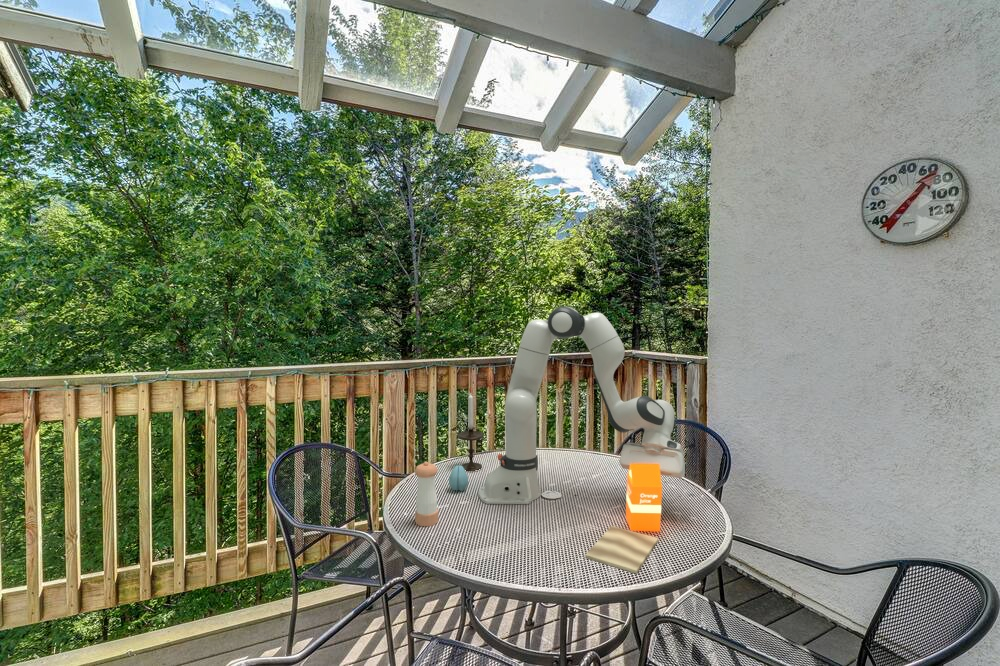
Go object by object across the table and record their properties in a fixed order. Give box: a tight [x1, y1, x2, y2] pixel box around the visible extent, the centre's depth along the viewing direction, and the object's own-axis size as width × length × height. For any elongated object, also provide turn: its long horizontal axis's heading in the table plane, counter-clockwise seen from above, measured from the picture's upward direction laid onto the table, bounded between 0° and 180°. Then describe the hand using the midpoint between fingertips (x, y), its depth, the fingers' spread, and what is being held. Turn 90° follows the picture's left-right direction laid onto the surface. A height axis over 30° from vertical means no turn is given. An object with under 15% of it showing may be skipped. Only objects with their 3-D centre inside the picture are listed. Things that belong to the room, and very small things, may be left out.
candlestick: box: [457, 386, 485, 471], centre depth 197 cm, size 11×11×35 cm
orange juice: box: [625, 463, 663, 532], centre depth 144 cm, size 8×9×20 cm
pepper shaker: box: [414, 461, 439, 527], centre depth 149 cm, size 7×7×19 cm
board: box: [585, 525, 659, 575], centre depth 132 cm, size 20×14×1 cm
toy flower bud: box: [448, 464, 469, 492], centre depth 177 cm, size 7×9×12 cm
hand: (647, 484), depth 148 cm, fingers closed
